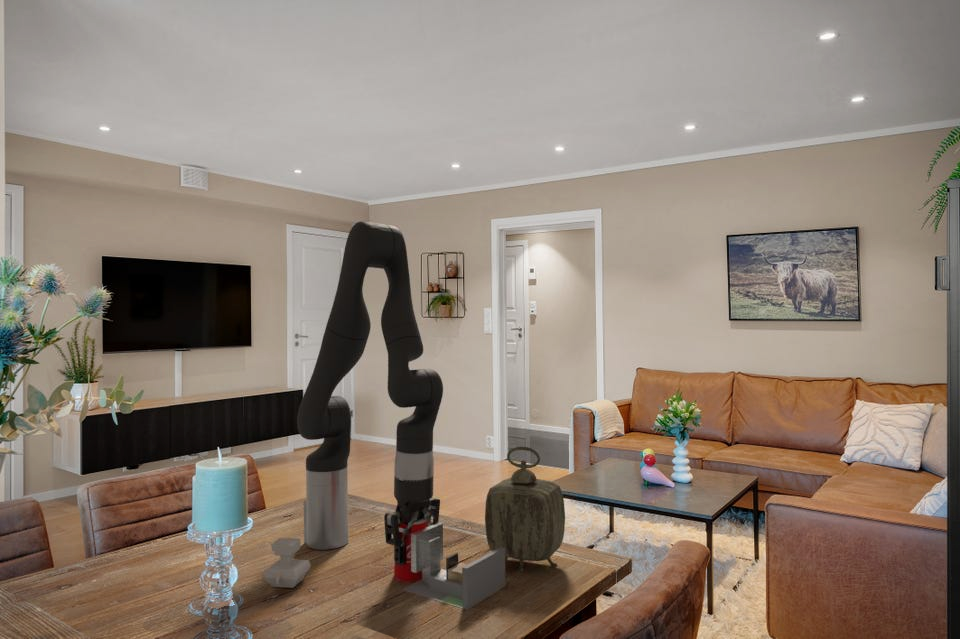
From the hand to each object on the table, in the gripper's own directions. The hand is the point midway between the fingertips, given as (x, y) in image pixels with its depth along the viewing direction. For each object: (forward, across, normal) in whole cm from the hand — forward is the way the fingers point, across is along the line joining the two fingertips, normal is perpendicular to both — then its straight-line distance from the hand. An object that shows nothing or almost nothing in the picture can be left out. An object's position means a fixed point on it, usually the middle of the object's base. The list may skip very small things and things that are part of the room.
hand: (412, 558), depth 126 cm
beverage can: (+4, 0, 0) cm, 4 cm away
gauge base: (+4, 0, +10) cm, 11 cm away
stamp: (+6, +14, -19) cm, 24 cm away
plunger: (+3, 0, +7) cm, 8 cm away
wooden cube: (+3, 0, +12) cm, 13 cm away
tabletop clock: (+4, -16, +16) cm, 23 cm away
